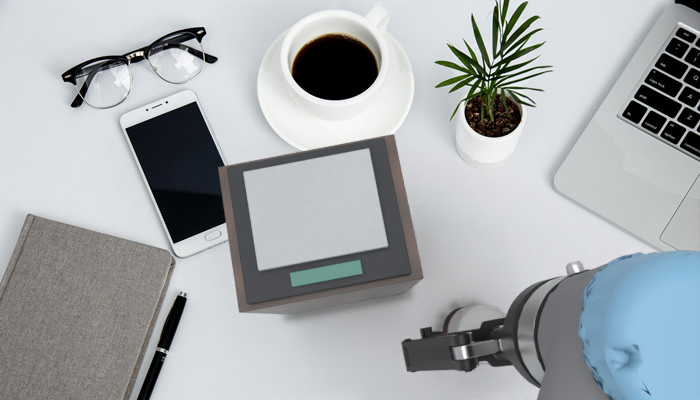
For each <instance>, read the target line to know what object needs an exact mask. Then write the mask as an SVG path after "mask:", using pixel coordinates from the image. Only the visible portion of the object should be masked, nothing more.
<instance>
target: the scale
mask: <svg viewBox="0 0 700 400" xmlns="http://www.w3.org/2000/svg"><path fill="white" fill-rule="evenodd" d="M227 173H228V180H229V187H230V194H231V200H232V207H233V214H234V221H235V227H236V234H237V241H238V247H239V254H240V261H241V268H242V274H243V281H244V288H245V295H246V301H247V304H250V305H251V304H256V303H262V302H267V301H272V300H278V299H283V298H288V297H294V296H299V295H304V294H310V293H315V292H320V291H326V290H331V289H336V288H341V287H347V286H352V285H357V284H363V283H368V282H373V281H379V280H384V279H389V278H395V277H400V276H405V275H410V274H411V273H412V272H411V267H410V262H409V257H408V252H407V247H406V242H405V237H404V233H403V228H402V223H401V218H400V213H399V208H398V203H397V198H396V193H395V188H394V183H393V178H392V173H391V168H390V163H389V159H388V154H387V149H386V144H385V139H384V138H379V139H374V140H369V141H364V142H358V143H353V144H348V145H342V146H337V147H332V148H327V149H321V150H316V151H311V152H305V153H300V154H295V155H290V156H284V157H279V158H274V159H268V160H263V161H258V162H253V163H247V164H242V165H237V166H231V167H227Z"/></svg>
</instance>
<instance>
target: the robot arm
mask: <svg viewBox="0 0 700 400" xmlns="http://www.w3.org/2000/svg"><path fill="white" fill-rule="evenodd" d="M565 270H566V273H567V274H565V275H560V276H555V277H551V278H547V279H544V280H540V281H538V282H535V283H533V284H531V285H529V286H527V287H526V288H525V289H524V290H522V291H521V292H520V293H518V295H517V296H516V297H515V299H514V300H513V301H512V302H511V304H510V306H509V308H508V309H507V311H506V314H507V315H506V317H504V318H498V319H493V320H488V321H484V322H482V323H481V326H480V328H477V329H471V330H465V331H458V332H452V333H445V334H443V331H439V330H433V327H432V326H427V327H422V328H421V327H420V328H419V332H420V337H421V338H415V339H412V337H411V338H405V339H404V340H402V341H400V343H401V350H402V354H403V360H404V364H405V370H406V372H408V373H417V372H432V371H433V372H435V371H437V372H438V371H458V372H465V373H470V372H473V371H475V369H477V368H478V367H479V366H480V364H479V362H481V361H487V362H488V363H489V365H490V366H491V367H492V368H499V367H501V368H502V367H511V366H513V368H514V369H515V370H516V371H517V372H518V374H519V375H521V376H522V377H523V378H524V379H525V380H526V381H527V382H528V383H530V384H531V385H533V386H534V387H536V388H538V389H539V391H538V394H537V397H536V400H700V250H691V249H680V250H679V249H678V250H667V251H660V252H656V251H653V252H648V253H643V252H641V251H639V252H635V253H630V254H623V255H621V256H618V257H616V258H614V259H612V260H611V261H609V262H607V263H605V264H601V265H600V266H596V267H593V268H591V269H590V268H589V269H585V266H584V263H583V262H581V261H579V260H578V261H570V262H569V263H568V264H567V265H566V266H565ZM501 325H504V326H503V327H500V326H501ZM499 327H500V328H499Z"/></svg>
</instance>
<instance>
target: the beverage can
mask: <svg viewBox="0 0 700 400" xmlns="http://www.w3.org/2000/svg"><path fill="white" fill-rule="evenodd" d="M506 315H507V312H505V311H504V310H502V309H501V308H500V307H497V306H495V305H492V304H486V303H485V304H483V303H481V304H474V305H466V306H460V307H457V308H454V309H453V310H452V311H451V312H449V314H447V316H446V317H445V319H444V322H443V324H442V332H443V334H445V333H452V332H458V331H465V330H471V329H477V328H480V326H481V323H482V322H484V321H488V320H493V319H498V318H504V317H506ZM503 326H504V325H501V326H500V327H503ZM500 327H499V328H500ZM479 365H486V366H488V365H490V364H489V363H488V362H487V361H481V362H479Z"/></svg>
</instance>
